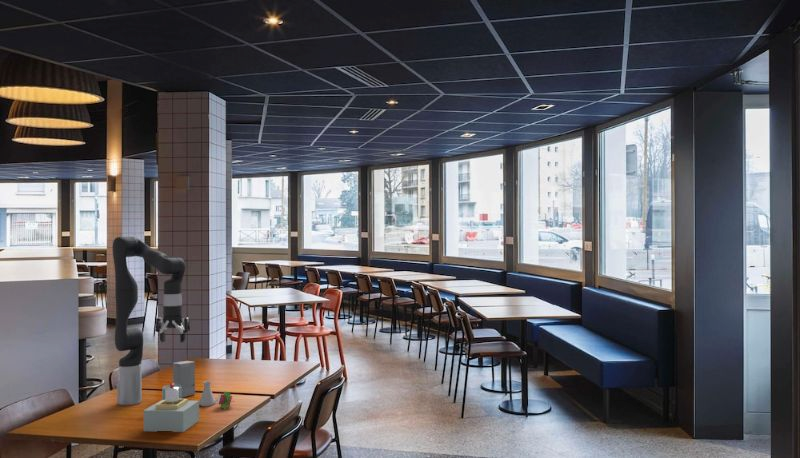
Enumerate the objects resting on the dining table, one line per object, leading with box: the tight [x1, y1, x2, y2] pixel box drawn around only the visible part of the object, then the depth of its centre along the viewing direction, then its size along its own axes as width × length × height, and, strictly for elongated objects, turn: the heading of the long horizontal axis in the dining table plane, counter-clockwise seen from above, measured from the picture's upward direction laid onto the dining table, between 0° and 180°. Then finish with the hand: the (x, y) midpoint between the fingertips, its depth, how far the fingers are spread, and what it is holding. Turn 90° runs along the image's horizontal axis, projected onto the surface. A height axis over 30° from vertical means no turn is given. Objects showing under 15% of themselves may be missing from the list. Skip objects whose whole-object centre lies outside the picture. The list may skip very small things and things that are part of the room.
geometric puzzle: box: [215, 391, 234, 409], centre depth 255 cm, size 7×7×8 cm
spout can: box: [165, 382, 179, 405], centre depth 231 cm, size 5×5×10 cm
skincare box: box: [172, 360, 196, 399], centre depth 274 cm, size 8×7×16 cm
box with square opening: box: [143, 398, 200, 433], centre depth 231 cm, size 16×14×10 cm
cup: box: [161, 384, 182, 400], centre depth 251 cm, size 8×8×10 cm
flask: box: [199, 380, 217, 407], centre depth 259 cm, size 7×7×10 cm
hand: (172, 341), depth 248 cm, fingers open, 8 cm apart
